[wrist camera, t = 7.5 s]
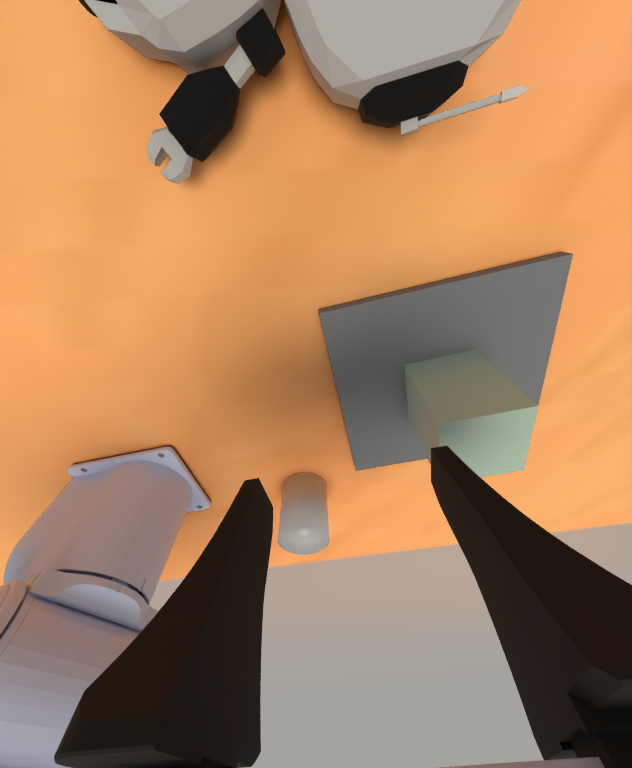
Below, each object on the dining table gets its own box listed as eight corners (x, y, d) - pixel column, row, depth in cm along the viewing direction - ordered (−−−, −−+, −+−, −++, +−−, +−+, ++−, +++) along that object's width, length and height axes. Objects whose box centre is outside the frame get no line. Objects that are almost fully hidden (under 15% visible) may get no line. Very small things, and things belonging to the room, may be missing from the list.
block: (408, 416, 21) (439, 484, 16) (404, 364, 19) (438, 424, 14) (471, 404, 21) (523, 470, 16) (474, 349, 18) (538, 406, 13)
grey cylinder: (289, 503, 28) (286, 557, 24) (277, 476, 26) (271, 530, 21) (330, 496, 27) (333, 550, 23) (320, 468, 25) (323, 522, 21)
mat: (354, 463, 25) (355, 470, 24) (318, 309, 18) (319, 313, 17) (523, 433, 23) (530, 440, 23) (561, 251, 16) (572, 253, 15)
